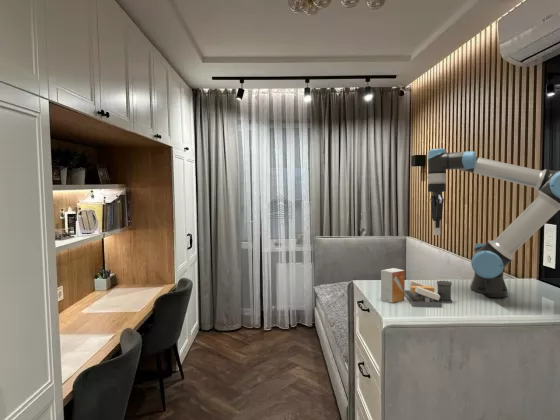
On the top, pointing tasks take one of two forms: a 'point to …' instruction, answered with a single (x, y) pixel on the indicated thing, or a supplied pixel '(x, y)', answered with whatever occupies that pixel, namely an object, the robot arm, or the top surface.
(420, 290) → the beige rectangular tile
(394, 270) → the small box
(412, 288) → the paddle mid
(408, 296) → the plate
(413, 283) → the paddle far
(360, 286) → the top surface
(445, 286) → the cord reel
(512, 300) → the top surface
